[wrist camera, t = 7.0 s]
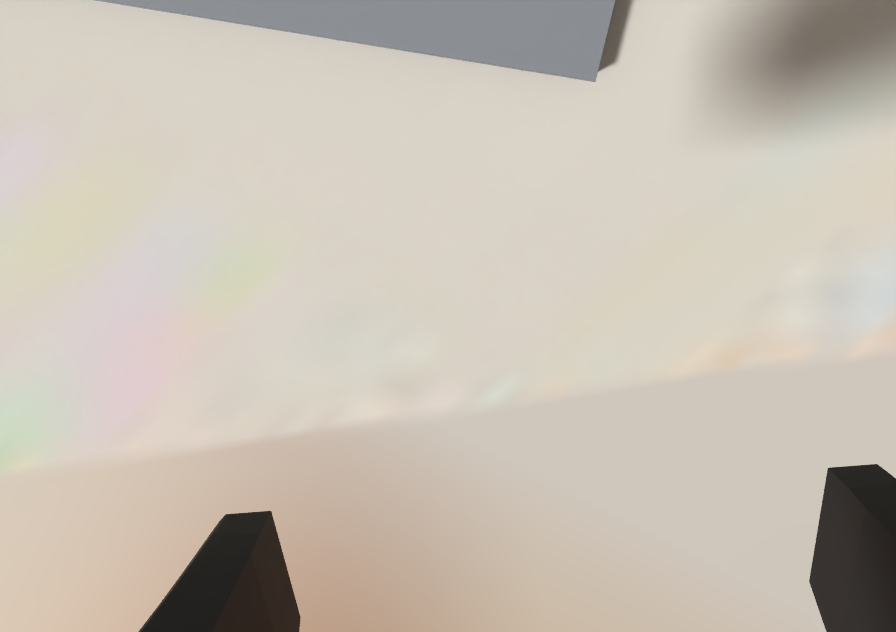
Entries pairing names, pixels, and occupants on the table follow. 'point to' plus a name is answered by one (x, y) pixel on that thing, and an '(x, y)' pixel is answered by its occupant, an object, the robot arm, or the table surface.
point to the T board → (434, 27)
